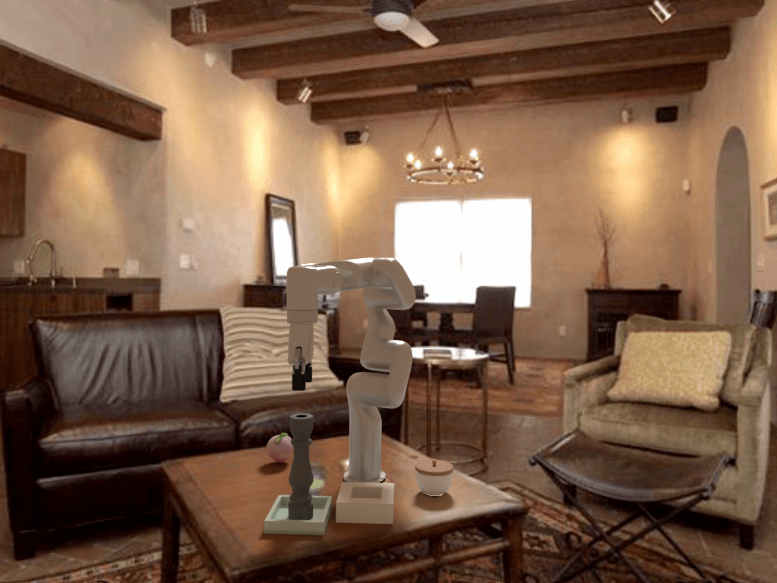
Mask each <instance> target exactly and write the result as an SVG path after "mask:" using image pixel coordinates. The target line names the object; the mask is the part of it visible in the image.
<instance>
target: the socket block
mask: <svg viewBox="0 0 777 583" xmlns="http://www.w3.org/2000/svg"><path fill="white" fill-rule="evenodd" d="M394 509H395V483H393V482H382V483H364V482H346V481H341V485H340V488H339V491H338V494H337V498H336V502H335V523H337V524H341V523H342V524H343V523H344V524H373V525H374V524H378V525H380V524H381V525H393V524H394Z"/></svg>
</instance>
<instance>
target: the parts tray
mask: <svg viewBox="0 0 777 583" xmlns="http://www.w3.org/2000/svg"><path fill="white" fill-rule="evenodd" d="M290 496H291V494H279V495H278V496H277V497H276V499H275V501H274V502H273V505H272V507H271V509H270V510H269V512H268V513H267V515H266V517H265V519H264V523H263V524H264V526H263V529H264V530H263V534H264V535H265V534H266V535H267V534H269V535H270V534H271V535H304V536H305V535H307V536H310V535H311V536H324V535H325V533H326V528H327V526H328V524H329V519H330V516H331V513H332V510H333V496H331V495H326V496H325V495H312V501H313V518H312V519H310V520H290V519H289V518H288V503H289V502H290V498H289V497H290Z"/></svg>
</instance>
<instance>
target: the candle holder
mask: <svg viewBox="0 0 777 583" xmlns="http://www.w3.org/2000/svg"><path fill="white" fill-rule="evenodd" d="M289 429H290V430H289V431H290V433H291V435H292V437H293V438H291V439H292V440H291V444H292V445H293V458H292V462H291V467H290V470H289V475H288V484H289V486H290V488H291V490H292V492H291V494H290V495H291V496H290V497H289V498H290V502H289V503H288V518H289V519H290V520H310V519H312V518H313V501H312V496H313V494H312V493H311V491H310V490H311V486H312V485H313V483H314V473H313V470H312V465H311V460H310V446H311V444H312V443H313V439H311V434H313V430H314V415H313V414H311V413H304V412H303V413H301V412H300V413H295V414H294V413H293V414H291V415H290V416H289Z"/></svg>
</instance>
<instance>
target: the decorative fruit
mask: <svg viewBox="0 0 777 583" xmlns="http://www.w3.org/2000/svg"><path fill="white" fill-rule="evenodd" d="M292 439H293V438H291V437H290V436H289V434H288V433H286V432H280V433H279V434H277V435H275V436H272V437H271V438H270V439H269V440H268V442H267V444H266V453H267V455H268V457H269V458H270V459H271V460H272V461H275V462H277V463H279V464H282V463H284V462H286V461H287V460H288V459H289V458H290V457H291V455H292V453H293V452H294V447H293V445H292V444H291V440H292Z"/></svg>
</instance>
